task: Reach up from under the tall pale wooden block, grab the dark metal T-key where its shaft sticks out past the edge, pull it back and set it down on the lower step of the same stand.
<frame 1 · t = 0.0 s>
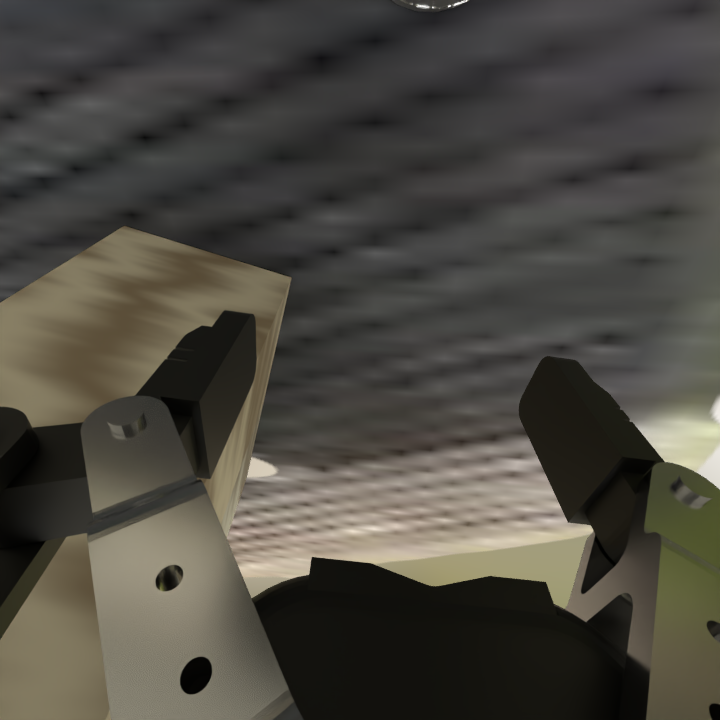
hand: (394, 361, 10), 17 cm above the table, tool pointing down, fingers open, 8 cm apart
step stand: (205, 328, 31), on the table
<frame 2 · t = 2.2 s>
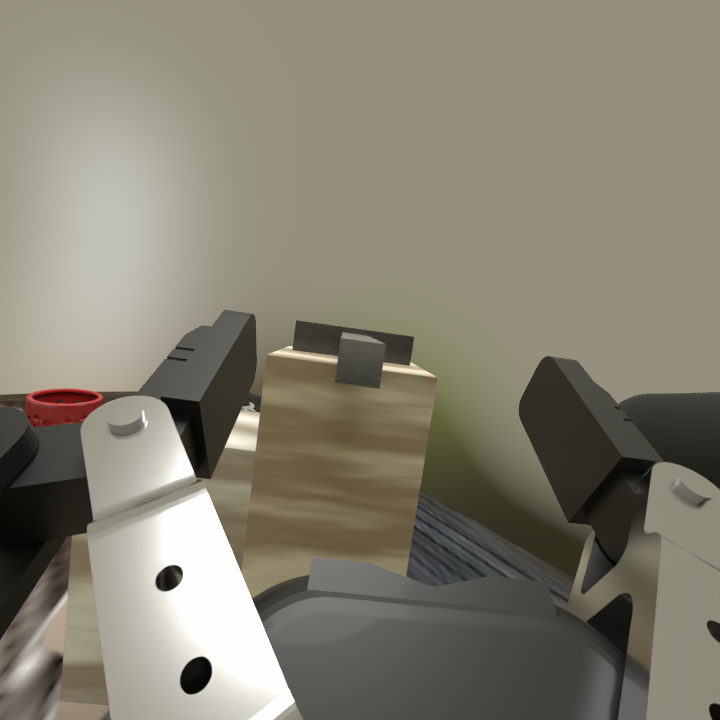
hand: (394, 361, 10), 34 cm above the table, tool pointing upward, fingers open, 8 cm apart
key: (352, 364, 31), point 32 cm above the table, touching step stand
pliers: (243, 410, 134), on the table
step stand: (310, 659, 39), on the table
plant pot: (62, 448, 81), on the table
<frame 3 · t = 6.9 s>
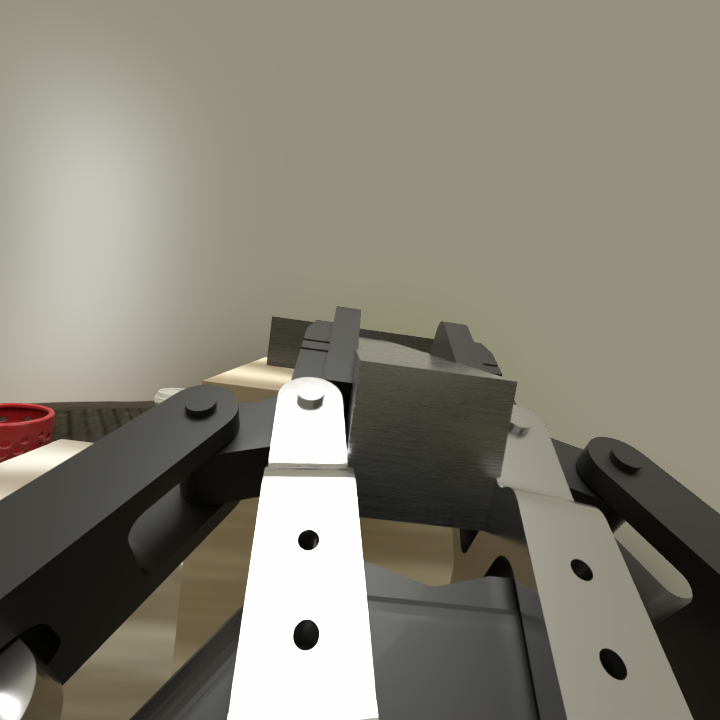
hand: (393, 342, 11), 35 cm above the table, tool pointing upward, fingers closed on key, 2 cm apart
coffee cup: (171, 455, 86), on the table
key: (369, 396, 17), point 32 cm above the table, touching gripper, step stand
plant pot: (3, 477, 66), on the table
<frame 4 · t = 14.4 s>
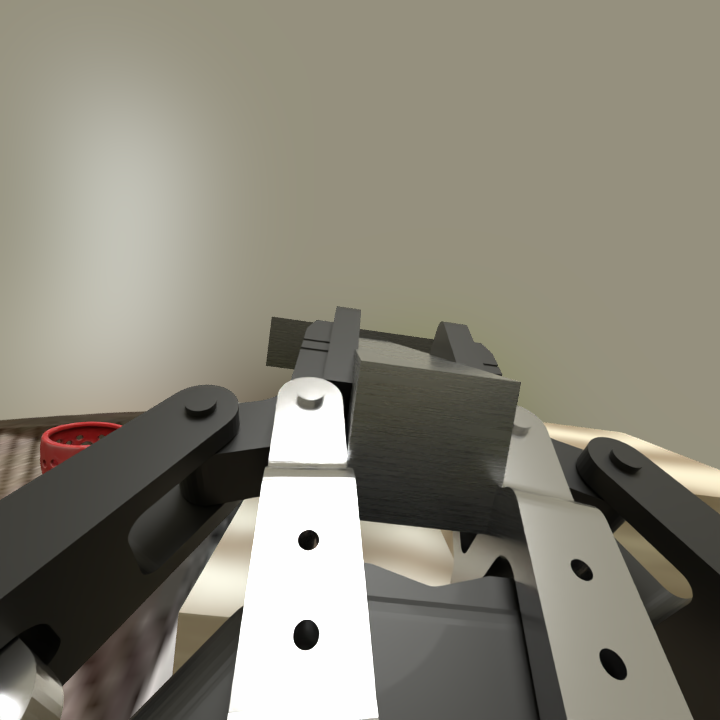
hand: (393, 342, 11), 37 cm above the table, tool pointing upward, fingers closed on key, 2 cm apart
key: (369, 396, 17), point 34 cm above the table, touching gripper
plant pot: (84, 495, 67), on the table
when the fingers open (28 cm above the table, at t = 16.6 s): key stays where it is, resting on step stand.
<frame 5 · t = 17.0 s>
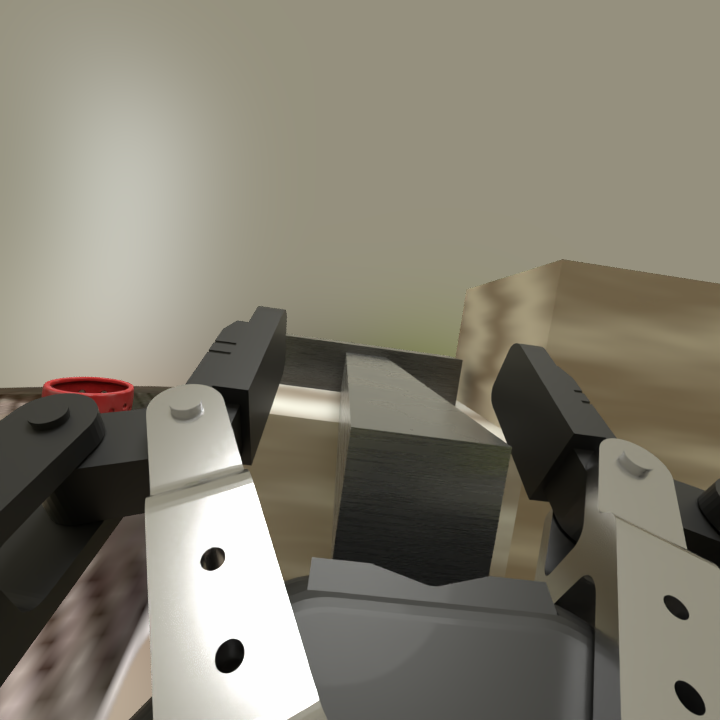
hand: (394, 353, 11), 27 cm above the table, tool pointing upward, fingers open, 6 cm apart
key: (366, 418, 17), point 24 cm above the table, touching step stand
plant pot: (86, 449, 66), on the table
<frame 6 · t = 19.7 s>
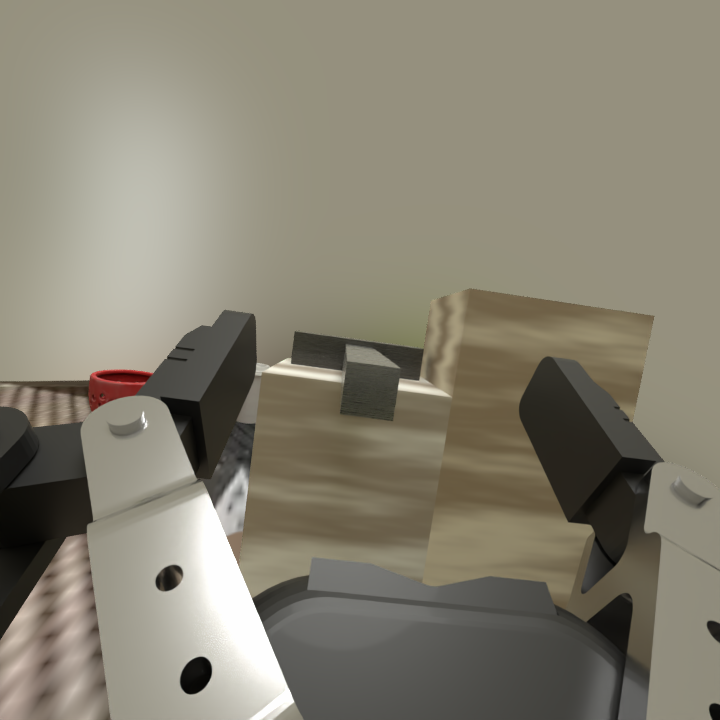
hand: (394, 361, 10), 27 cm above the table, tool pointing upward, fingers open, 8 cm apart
coffee cup: (247, 420, 98), on the table
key: (357, 382, 28), point 24 cm above the table, touching step stand
step stand: (465, 638, 35), on the table
plant pot: (123, 431, 78), on the table
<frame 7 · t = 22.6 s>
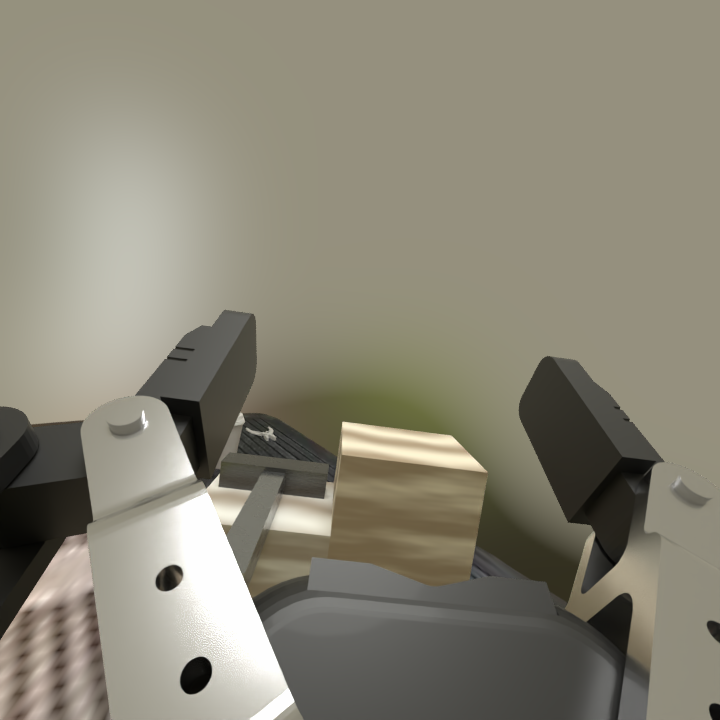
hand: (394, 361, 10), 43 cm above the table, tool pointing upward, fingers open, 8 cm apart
coffee cup: (222, 465, 105), on the table
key: (259, 520, 36), point 24 cm above the table, touching step stand
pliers: (264, 435, 138), on the table
step stand: (364, 707, 43), on the table
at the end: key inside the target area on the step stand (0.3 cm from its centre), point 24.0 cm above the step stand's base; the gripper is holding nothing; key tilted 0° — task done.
